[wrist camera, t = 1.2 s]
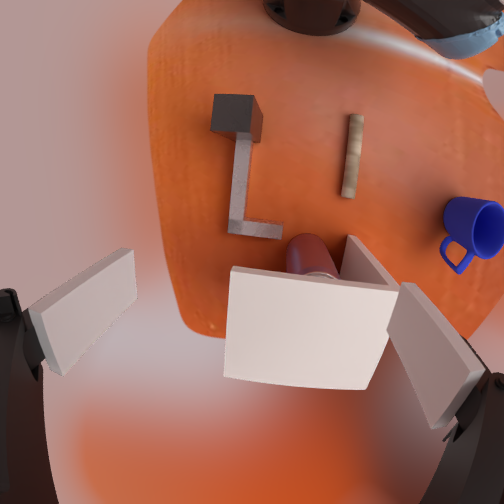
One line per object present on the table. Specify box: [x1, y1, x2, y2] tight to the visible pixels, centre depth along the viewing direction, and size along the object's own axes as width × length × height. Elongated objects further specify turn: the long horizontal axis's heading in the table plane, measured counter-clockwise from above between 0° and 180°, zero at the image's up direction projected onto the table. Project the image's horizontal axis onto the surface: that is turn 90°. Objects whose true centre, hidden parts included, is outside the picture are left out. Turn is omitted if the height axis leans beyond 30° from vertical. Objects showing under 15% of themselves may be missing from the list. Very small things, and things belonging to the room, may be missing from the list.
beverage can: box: [286, 233, 341, 280], centre depth 33 cm, size 6×6×15 cm
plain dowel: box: [341, 114, 364, 199], centre depth 35 cm, size 12×2×2 cm
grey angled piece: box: [210, 94, 283, 240], centre depth 32 cm, size 17×8×12 cm, turn 174°
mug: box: [440, 197, 504, 275], centre depth 31 cm, size 8×12×10 cm
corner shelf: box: [224, 235, 400, 390], centre depth 32 cm, size 12×15×19 cm
